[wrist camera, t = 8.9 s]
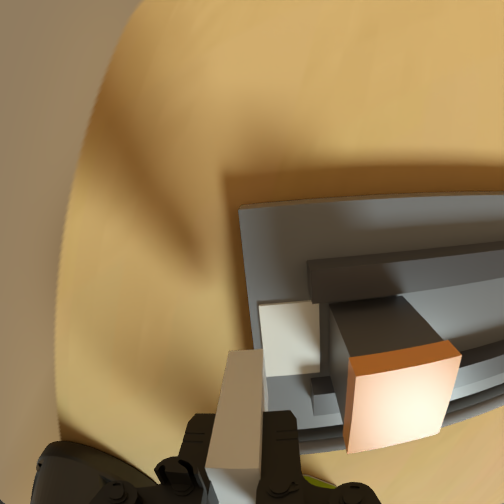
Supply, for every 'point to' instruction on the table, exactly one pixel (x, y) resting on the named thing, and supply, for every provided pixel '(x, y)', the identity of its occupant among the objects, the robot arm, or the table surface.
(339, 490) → the robot arm
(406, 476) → the table surface
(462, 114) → the table surface
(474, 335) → the panel
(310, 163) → the table surface
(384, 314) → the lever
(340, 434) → the grey twin rods
